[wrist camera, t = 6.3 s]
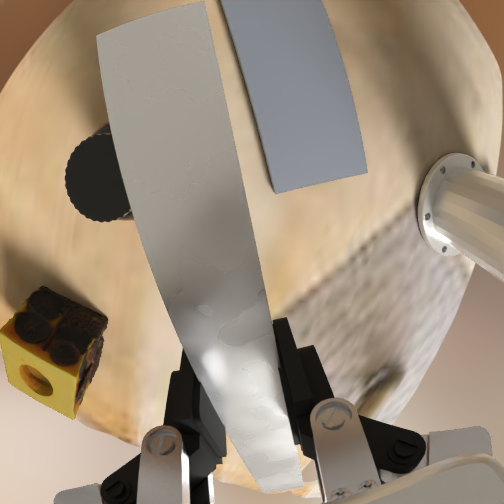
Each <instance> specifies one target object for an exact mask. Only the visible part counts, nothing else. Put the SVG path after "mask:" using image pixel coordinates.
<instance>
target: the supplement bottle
mask: <svg viewBox="0 0 504 504" xmlns="http://www.w3.org/2000/svg"><path fill="white" fill-rule="evenodd" d="M65 171H66V175H65V181H66V184H65V187H66V189H67V194H68V196H69V197H70V201H71V202H72V203H73V204H74V207H75V208H76V209H77V210H79V212H80V214H82V215H85V217H86V218H89V219H92V220H93V221H99V222H104V221H106V222H110V221H112V220H124V221H128V220H134V216H133V213H132V210H131V207H130V203H129V200H128V196H127V193H126V189H125V186H124V182H123V178H122V174H121V171H120V167H119V163H118V159H117V155H116V150H115V146H114V142H113V137H112V133H111V128H110V123H109V122H107V123H105V124H104V125H102V126H101V127H99V128H98V129H97V130H96V131H95V132H94V133H93V134H92V135H91V136H90V137H88V138H87V139H86V140H84V141H82V142H81V143H80V145H79V146H77V147H76V148H75V150H74V152H73V153H71V156H70V159H69V160H68V162H67V167H66V169H65Z"/></svg>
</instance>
